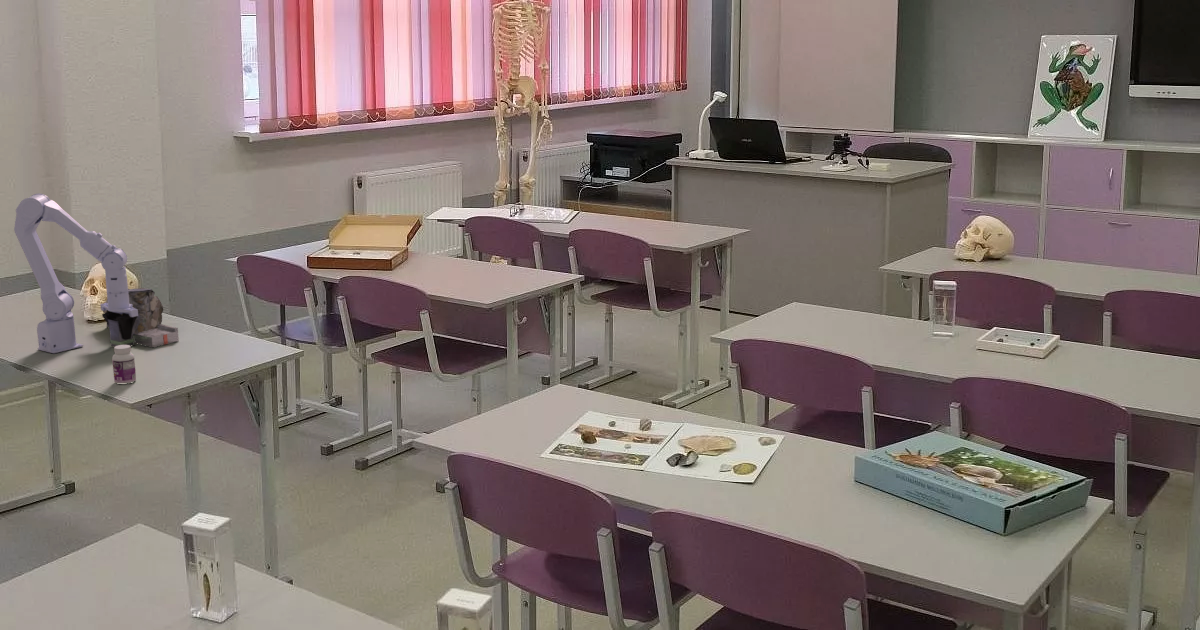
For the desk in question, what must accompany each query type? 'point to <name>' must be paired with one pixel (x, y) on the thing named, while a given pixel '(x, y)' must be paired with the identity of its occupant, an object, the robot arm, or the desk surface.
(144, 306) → the fossil rock
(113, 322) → the grey rectangular block
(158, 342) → the stand block
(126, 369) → the pill bottle
